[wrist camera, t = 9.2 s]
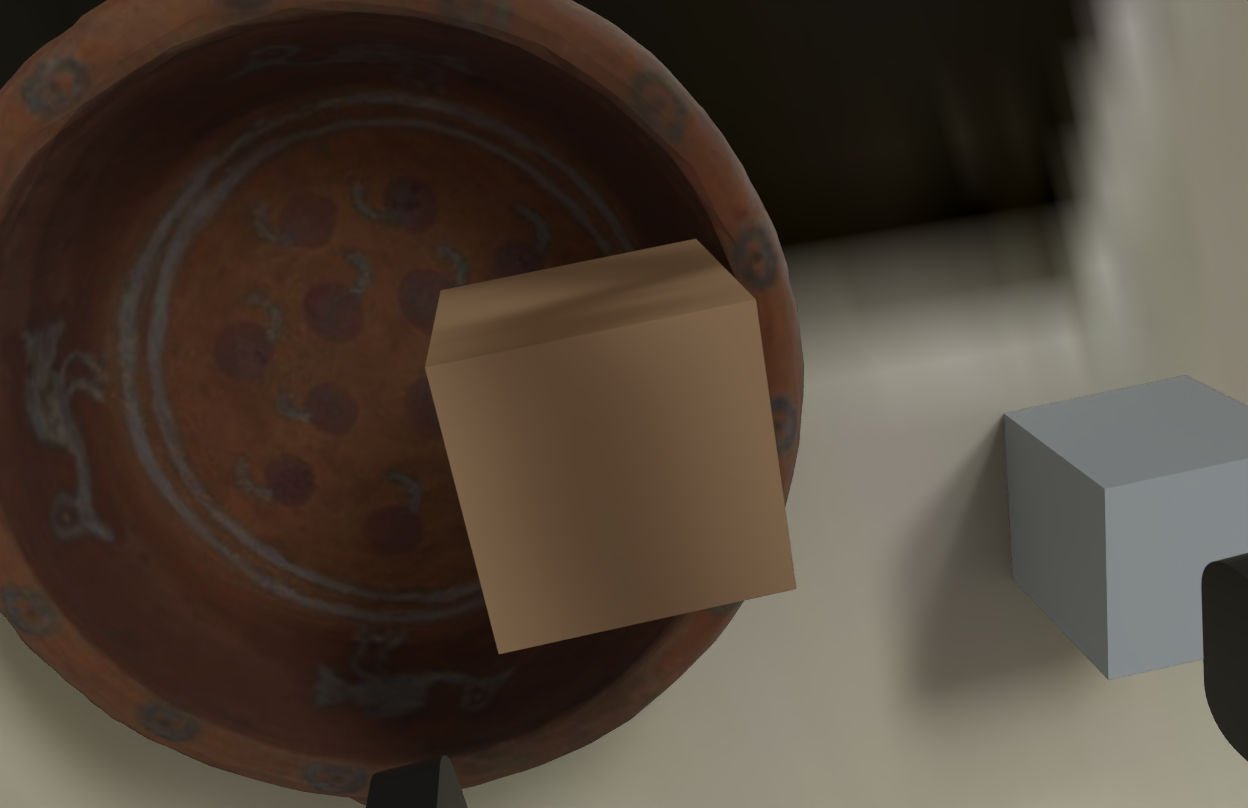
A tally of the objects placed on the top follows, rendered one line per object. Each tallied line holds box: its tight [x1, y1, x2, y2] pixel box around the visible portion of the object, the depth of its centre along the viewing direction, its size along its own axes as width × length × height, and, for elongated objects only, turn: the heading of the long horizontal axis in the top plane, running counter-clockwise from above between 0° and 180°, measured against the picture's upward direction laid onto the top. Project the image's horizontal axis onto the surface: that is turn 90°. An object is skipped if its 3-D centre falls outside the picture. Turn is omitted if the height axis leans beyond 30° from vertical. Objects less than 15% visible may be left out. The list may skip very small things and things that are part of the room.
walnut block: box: [425, 239, 796, 654], centre depth 19 cm, size 5×5×5 cm
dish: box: [0, 0, 804, 805], centre depth 23 cm, size 18×22×5 cm
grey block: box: [1004, 375, 1248, 680], centre depth 27 cm, size 5×5×5 cm
